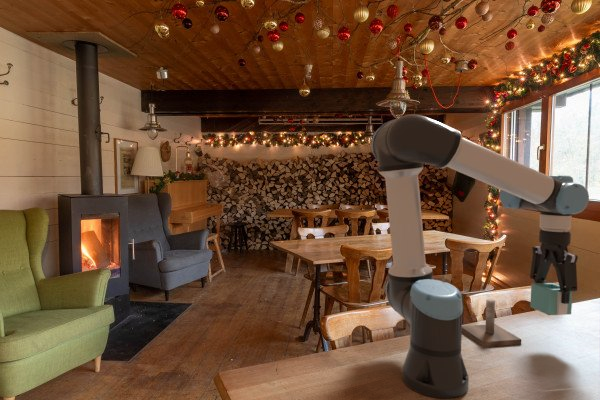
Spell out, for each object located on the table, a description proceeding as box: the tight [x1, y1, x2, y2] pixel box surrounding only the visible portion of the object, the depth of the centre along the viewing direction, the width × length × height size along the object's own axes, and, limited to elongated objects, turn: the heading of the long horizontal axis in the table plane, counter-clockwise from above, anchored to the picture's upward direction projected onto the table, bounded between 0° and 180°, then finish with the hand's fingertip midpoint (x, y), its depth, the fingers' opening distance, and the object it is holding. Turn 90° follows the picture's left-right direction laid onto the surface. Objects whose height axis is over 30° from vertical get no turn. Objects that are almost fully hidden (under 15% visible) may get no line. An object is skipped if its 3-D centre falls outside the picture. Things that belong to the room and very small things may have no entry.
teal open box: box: [529, 282, 574, 316], centre depth 112 cm, size 7×7×7 cm
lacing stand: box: [462, 298, 522, 348], centre depth 119 cm, size 12×12×12 cm
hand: (550, 309), depth 112 cm, fingers closed on teal open box, 7 cm apart
